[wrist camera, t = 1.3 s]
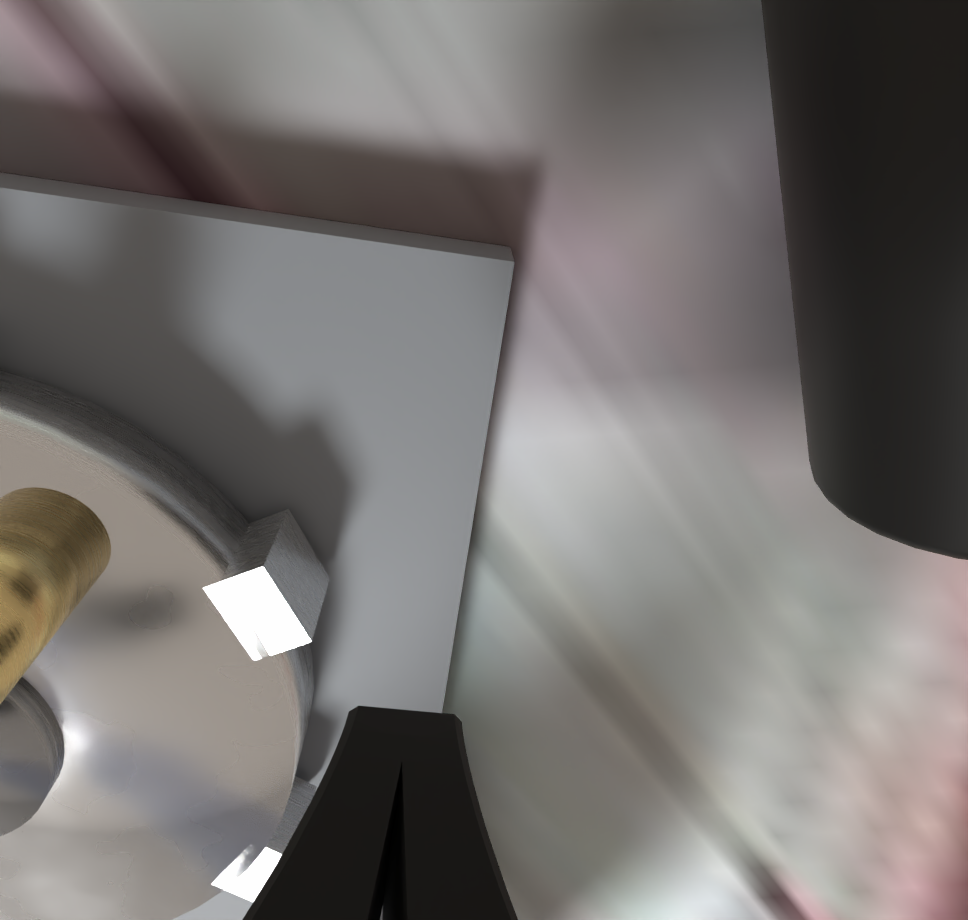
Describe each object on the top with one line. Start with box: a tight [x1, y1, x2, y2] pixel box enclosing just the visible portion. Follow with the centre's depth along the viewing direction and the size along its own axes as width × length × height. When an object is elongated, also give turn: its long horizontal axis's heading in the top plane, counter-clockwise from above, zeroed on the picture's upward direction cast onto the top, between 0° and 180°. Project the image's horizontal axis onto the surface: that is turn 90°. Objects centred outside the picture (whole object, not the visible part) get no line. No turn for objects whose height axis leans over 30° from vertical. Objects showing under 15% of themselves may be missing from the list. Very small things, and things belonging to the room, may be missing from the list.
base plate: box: [0, 172, 515, 920], centre depth 17 cm, size 20×20×2 cm
